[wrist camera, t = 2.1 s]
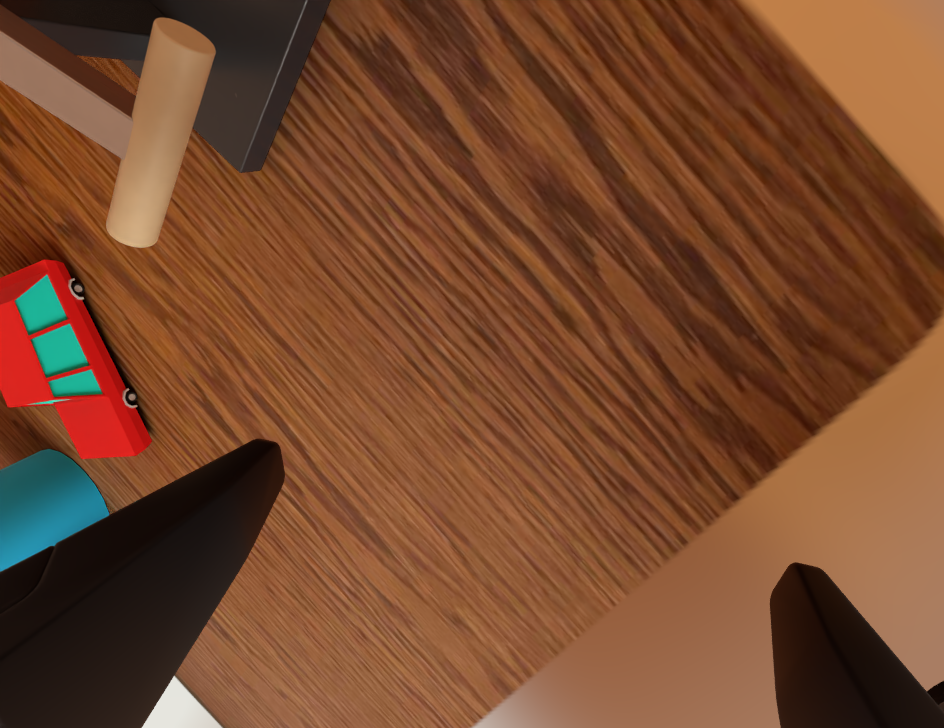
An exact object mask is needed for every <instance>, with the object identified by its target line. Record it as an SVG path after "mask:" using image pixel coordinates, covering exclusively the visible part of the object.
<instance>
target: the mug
mask: <svg viewBox="0 0 944 728" xmlns="http://www.w3.org/2000/svg"><path fill="white" fill-rule="evenodd" d="M107 516H109V512H108V510H107V507H106V504H105V502H104V499H103V498H102V496H101V494H100V492H99V491H98V489H97V487H96V486H95V484H94V483H93V482H92V480H91V479H90V478H89V477H88V475H87V474H86V473H85V472H84V470H82V469H81V468H80V467H79V466H78V465H77V464H76V463H75V462H74V461H73V460H72V459H70V458H69V457H67V456H65V455H64V454H62V453H61V452H58V451H55V450H52V449H46V450H41V451H39V452H37V453H35V454H33V455H31V456H29V457H27V458H25V459H22V460H20V461H18V462H16V463H14V464H12V465H10V466H8V467H6V468H3V469H1V470H0V572H1V571H3V570H5V569H7V568H9V567H11V566H13V565H15V564H17V563H18V562H20V561H22V560H24V559H26V558H28V557H30V556H32V555H34V554H36V553H38V552H40V551H42V550H44V549H46V548H47V547H49V546H54V547H55V545H56V543H57V542H59V541H61V540H63V539H65V538H67V537H69V536H71V535H73V534H74V533H76V532H78V531H80V530H82V529H84V528H86V527H88V526H90V525H92V524H94V523H96V522H97V521H99V520H101V519H103V518H105V517H107Z"/></svg>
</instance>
